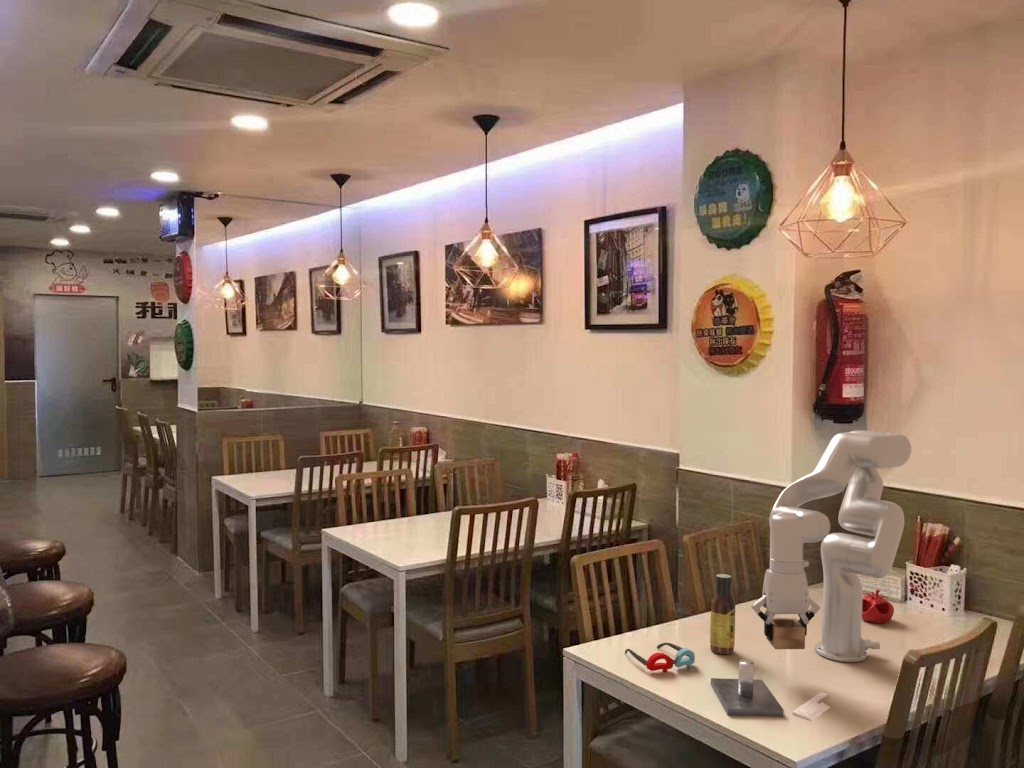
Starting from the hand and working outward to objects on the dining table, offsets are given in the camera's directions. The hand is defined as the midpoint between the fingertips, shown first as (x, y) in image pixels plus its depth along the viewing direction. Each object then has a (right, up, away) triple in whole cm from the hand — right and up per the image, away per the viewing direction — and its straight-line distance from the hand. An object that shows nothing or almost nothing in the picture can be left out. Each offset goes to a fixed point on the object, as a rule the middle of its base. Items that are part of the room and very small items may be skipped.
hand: (785, 637), depth 194 cm
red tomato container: (+42, -9, +45) cm, 62 cm away
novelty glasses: (-29, -10, +10) cm, 32 cm away
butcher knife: (+2, -11, -15) cm, 19 cm away
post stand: (-13, -10, -12) cm, 20 cm away
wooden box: (0, -1, 0) cm, 1 cm away
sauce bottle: (-11, -9, +18) cm, 23 cm away
